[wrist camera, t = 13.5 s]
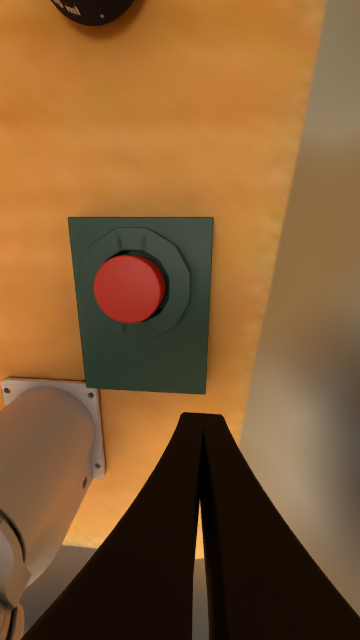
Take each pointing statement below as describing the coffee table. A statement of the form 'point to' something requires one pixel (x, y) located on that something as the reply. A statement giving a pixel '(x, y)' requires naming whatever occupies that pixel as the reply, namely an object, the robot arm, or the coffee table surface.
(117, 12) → the beverage can
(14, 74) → the coffee table surface
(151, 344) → the button housing
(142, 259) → the red button
